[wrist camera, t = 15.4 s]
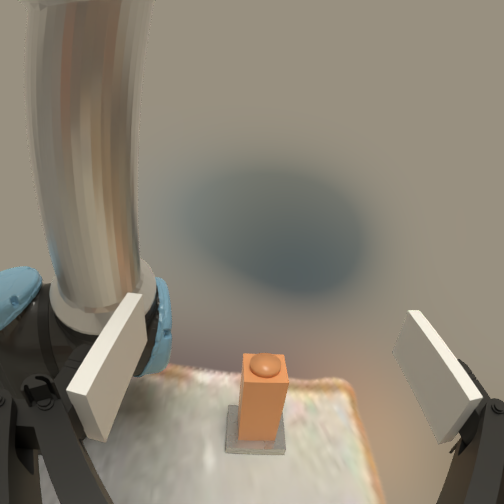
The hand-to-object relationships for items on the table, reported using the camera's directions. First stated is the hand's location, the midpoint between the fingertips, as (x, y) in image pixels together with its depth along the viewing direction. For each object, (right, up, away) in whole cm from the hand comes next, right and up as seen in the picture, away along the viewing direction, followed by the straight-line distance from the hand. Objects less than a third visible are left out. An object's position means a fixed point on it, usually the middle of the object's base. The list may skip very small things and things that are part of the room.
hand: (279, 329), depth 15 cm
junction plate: (-1, -22, +25) cm, 34 cm away
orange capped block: (-1, -21, +25) cm, 32 cm away
